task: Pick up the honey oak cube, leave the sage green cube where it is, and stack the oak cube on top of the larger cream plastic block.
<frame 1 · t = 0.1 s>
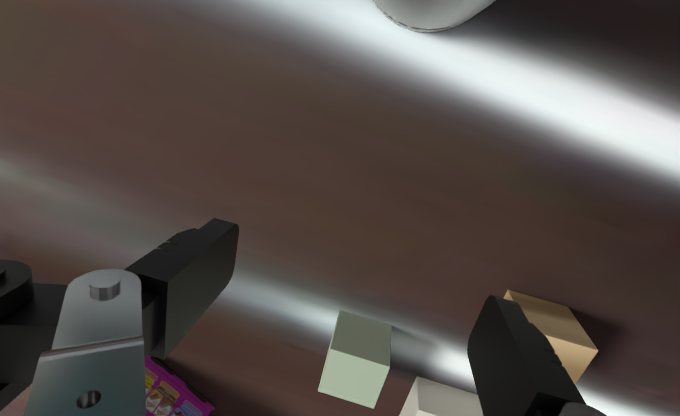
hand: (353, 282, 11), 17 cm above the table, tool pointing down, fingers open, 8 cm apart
oak cube: (524, 320, 30), on the table
sage cube: (359, 337, 34), on the table
candy bar box: (170, 384, 41), on the table
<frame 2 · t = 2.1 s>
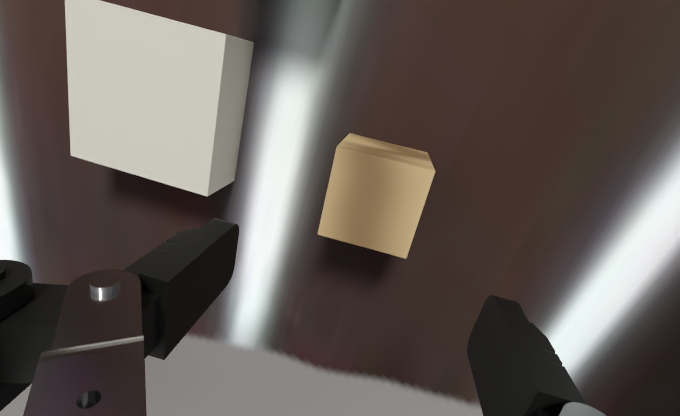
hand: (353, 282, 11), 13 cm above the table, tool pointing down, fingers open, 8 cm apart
cream block: (182, 98, 23), on the table
oak cube: (378, 179, 23), on the table
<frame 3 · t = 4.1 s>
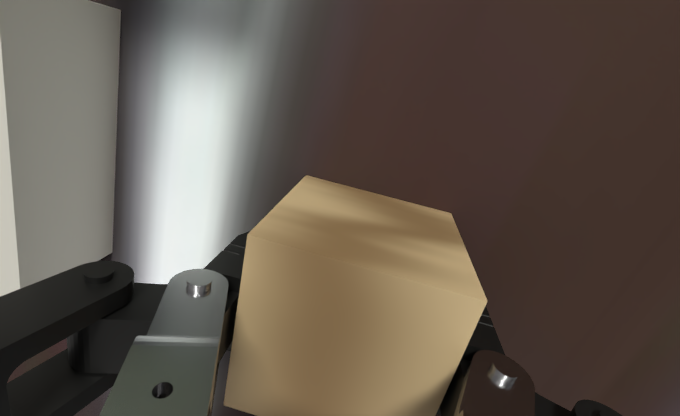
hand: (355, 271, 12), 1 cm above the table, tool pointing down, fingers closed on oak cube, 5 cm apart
cream block: (12, 110, 13), on the table
oak cube: (359, 257, 13), on the table, touching gripper
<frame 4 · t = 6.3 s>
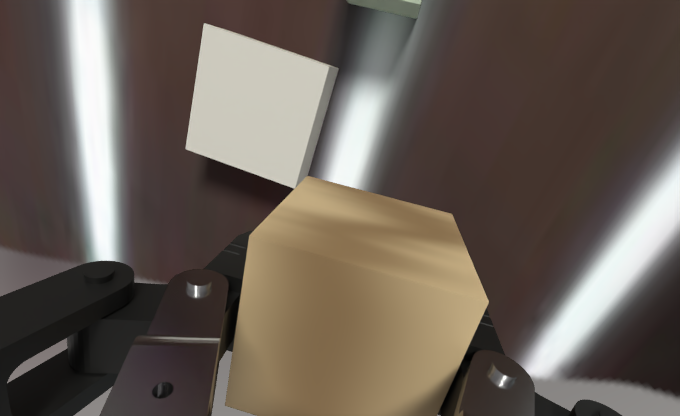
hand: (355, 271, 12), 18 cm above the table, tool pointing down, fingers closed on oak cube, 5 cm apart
cream block: (271, 107, 29), on the table
oak cube: (360, 258, 13), point 17 cm above the table, touching gripper
when the fingers open (6 cm above the table, at t = 8.9 s): oak cube drops 1 cm, resting on cream block.
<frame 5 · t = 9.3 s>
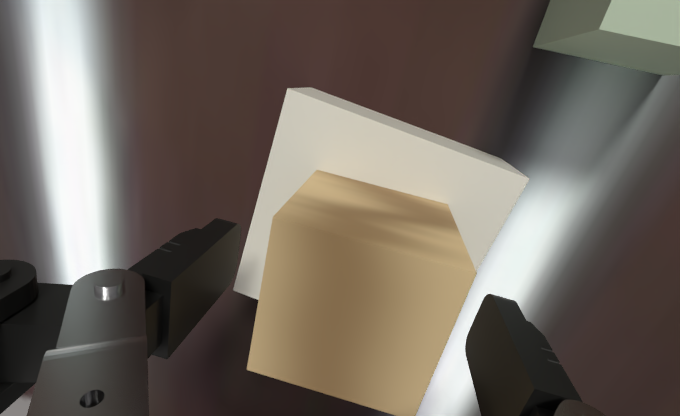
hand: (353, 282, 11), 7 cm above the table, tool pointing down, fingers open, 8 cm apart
cream block: (369, 208, 18), on the table, touching oak cube
oak cube: (364, 245, 14), point 4 cm above the table, touching cream block
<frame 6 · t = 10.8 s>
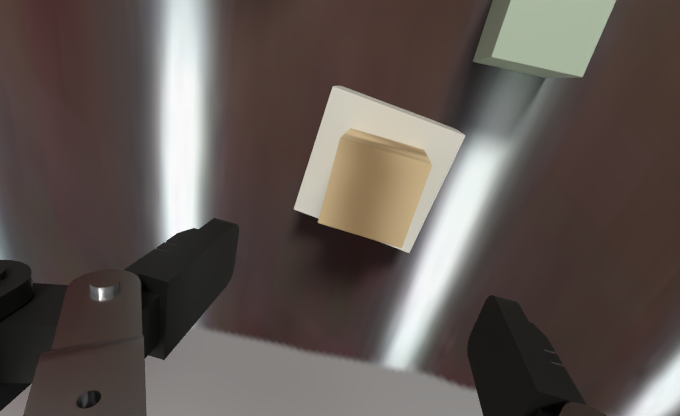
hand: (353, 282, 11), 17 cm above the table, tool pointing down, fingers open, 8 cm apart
cream block: (376, 162, 28), on the table
oak cube: (375, 174, 24), point 4 cm above the table
sage cube: (523, 30, 23), on the table
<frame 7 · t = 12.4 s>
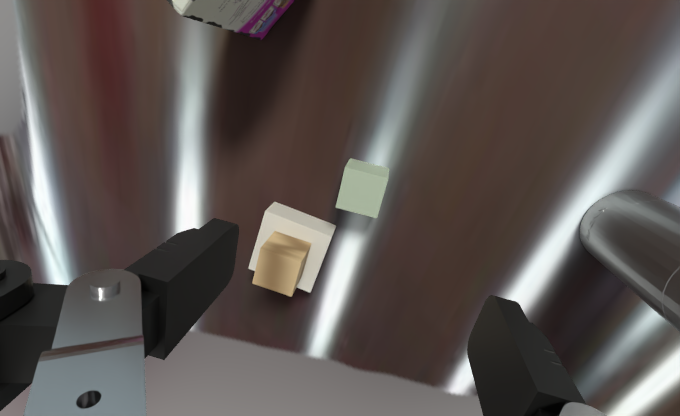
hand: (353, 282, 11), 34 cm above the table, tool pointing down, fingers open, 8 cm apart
cream block: (296, 240, 49), on the table, touching oak cube
oak cube: (288, 253, 46), point 4 cm above the table, touching cream block
sage cube: (364, 181, 45), on the table
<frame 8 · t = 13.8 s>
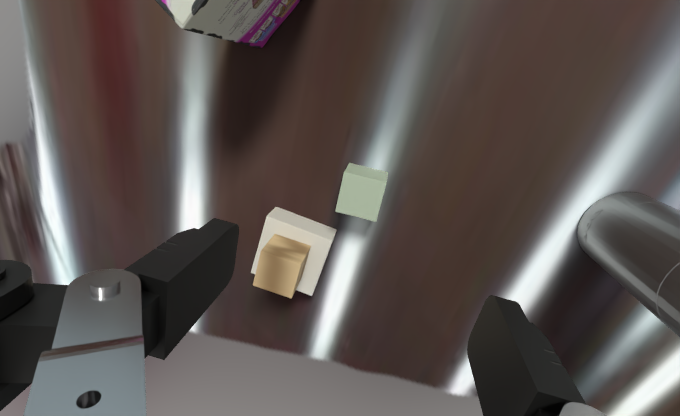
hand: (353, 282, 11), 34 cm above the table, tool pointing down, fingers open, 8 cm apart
cream block: (298, 244, 50), on the table
oak cube: (288, 255, 46), point 4 cm above the table
sage cube: (364, 185, 45), on the table
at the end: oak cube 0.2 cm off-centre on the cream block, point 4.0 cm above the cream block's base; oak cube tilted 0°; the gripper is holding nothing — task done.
